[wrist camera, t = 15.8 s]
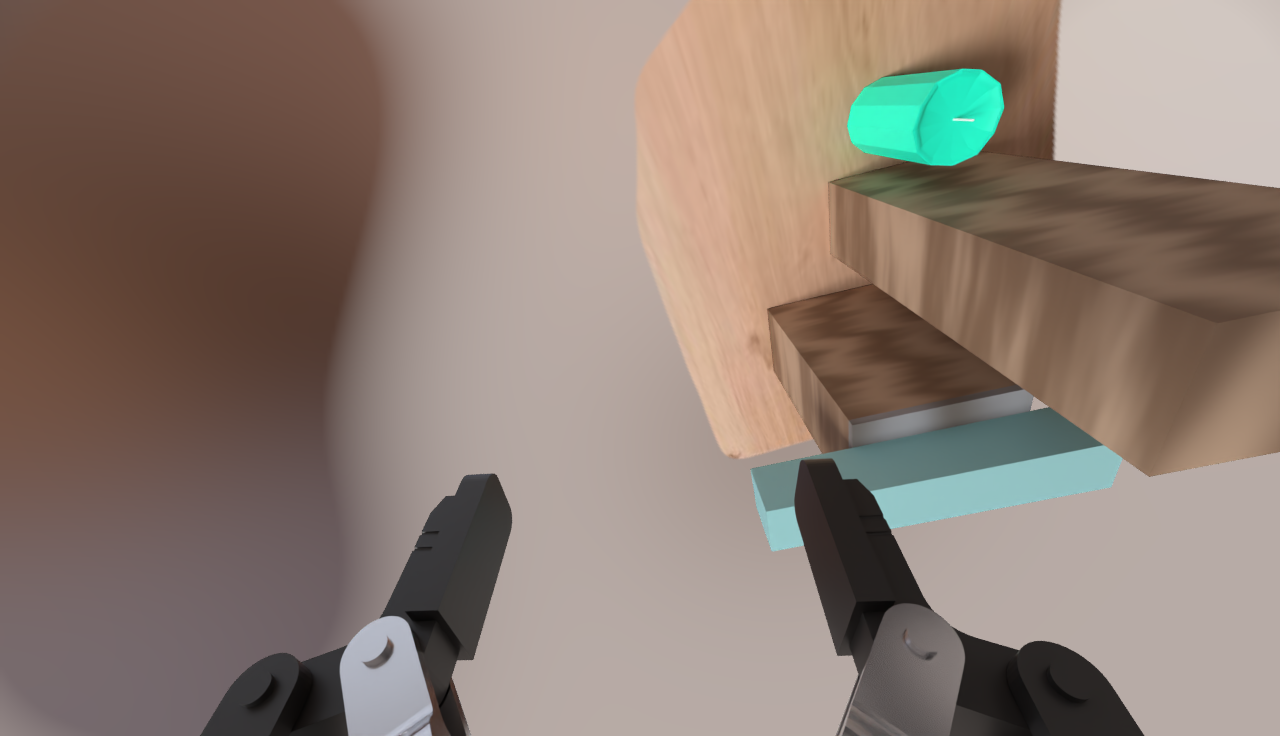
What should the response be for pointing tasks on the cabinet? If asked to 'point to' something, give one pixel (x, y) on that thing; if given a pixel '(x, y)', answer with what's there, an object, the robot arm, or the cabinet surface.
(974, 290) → the stand
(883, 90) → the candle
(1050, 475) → the batten
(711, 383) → the cabinet surface
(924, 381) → the brown wooden block
